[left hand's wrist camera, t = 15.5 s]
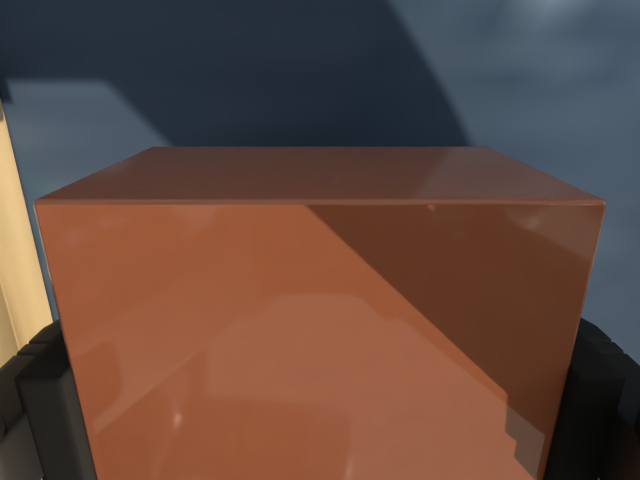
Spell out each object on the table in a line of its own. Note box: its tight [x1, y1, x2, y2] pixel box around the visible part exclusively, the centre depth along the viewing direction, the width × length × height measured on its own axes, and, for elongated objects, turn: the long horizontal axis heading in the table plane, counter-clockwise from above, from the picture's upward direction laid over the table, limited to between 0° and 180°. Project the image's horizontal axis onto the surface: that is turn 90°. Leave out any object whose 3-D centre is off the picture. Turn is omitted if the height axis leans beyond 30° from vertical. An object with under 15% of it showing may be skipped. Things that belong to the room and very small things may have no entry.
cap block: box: [33, 147, 606, 480], centre depth 10 cm, size 8×8×5 cm
